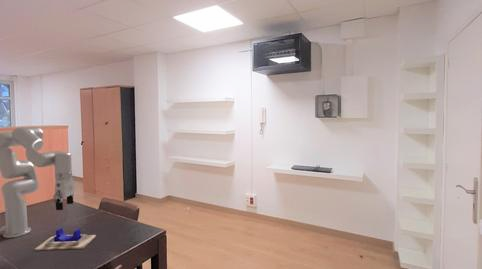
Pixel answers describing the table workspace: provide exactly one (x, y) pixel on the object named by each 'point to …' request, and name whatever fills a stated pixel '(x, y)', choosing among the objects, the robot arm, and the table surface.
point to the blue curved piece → (64, 238)
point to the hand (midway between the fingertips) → (65, 206)
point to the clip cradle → (65, 243)
